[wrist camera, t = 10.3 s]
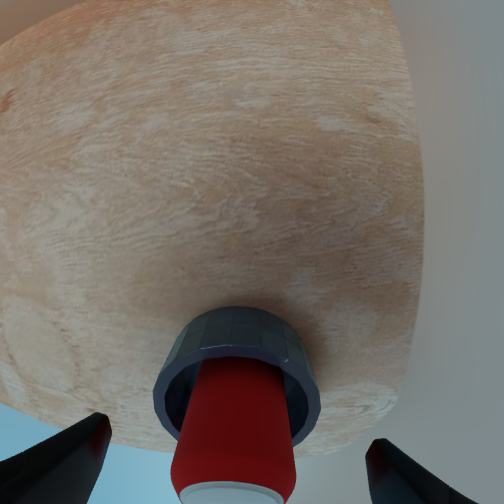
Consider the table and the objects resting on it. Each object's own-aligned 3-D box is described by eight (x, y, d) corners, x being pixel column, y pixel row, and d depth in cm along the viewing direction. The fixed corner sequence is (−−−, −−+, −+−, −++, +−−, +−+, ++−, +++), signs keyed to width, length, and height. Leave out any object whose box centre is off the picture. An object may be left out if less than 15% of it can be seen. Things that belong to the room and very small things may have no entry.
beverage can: (293, 384, 21) (317, 514, 9) (224, 409, 22) (209, 532, 10) (259, 324, 20) (264, 463, 8) (184, 355, 21) (136, 483, 9)
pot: (320, 313, 21) (339, 352, 15) (293, 418, 23) (300, 464, 17) (173, 296, 20) (149, 331, 15) (173, 405, 23) (158, 449, 17)
